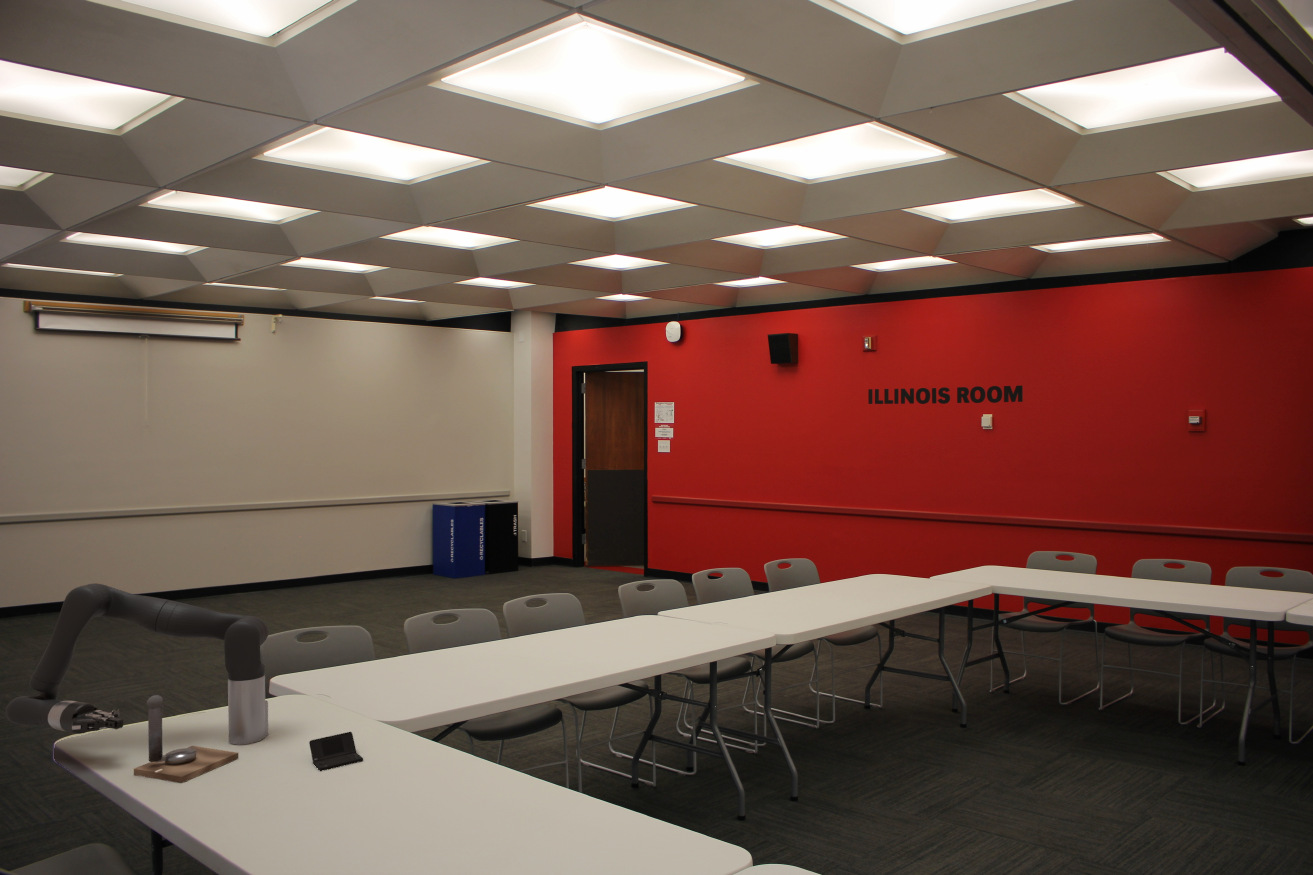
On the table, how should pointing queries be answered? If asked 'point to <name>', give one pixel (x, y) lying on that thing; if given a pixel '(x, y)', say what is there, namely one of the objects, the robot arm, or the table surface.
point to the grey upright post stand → (156, 737)
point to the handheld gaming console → (334, 751)
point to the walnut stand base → (187, 765)
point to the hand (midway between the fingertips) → (120, 724)
